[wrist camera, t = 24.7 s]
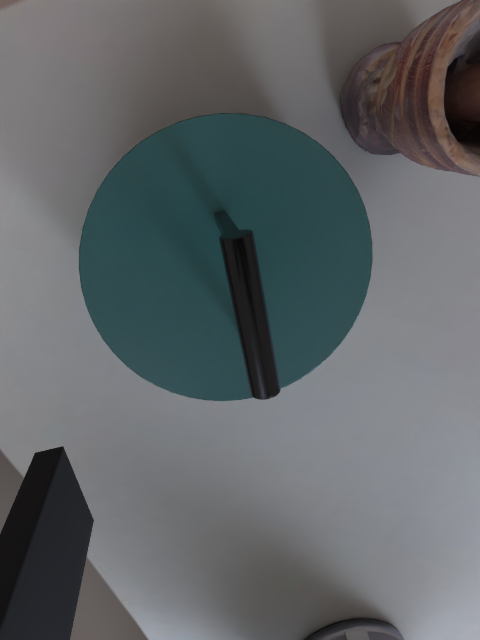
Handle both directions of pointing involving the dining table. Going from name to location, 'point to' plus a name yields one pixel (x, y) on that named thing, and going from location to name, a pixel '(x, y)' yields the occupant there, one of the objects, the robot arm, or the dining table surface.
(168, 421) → the dining table surface
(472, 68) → the mortar and pestle
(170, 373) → the lid
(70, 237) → the dining table surface
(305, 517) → the dining table surface
